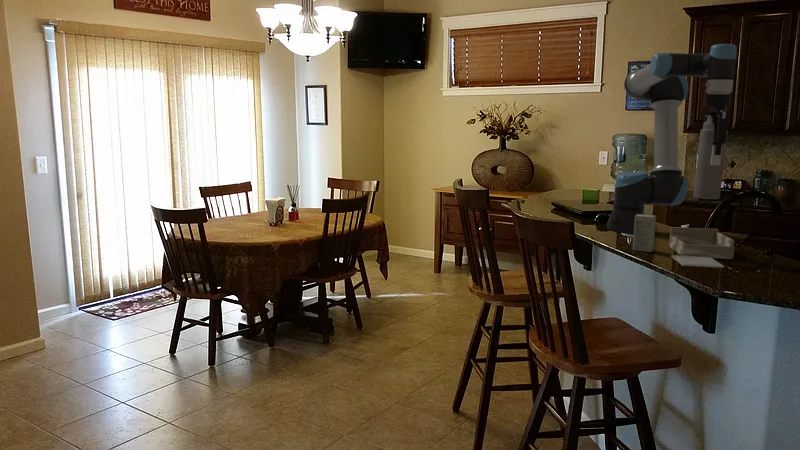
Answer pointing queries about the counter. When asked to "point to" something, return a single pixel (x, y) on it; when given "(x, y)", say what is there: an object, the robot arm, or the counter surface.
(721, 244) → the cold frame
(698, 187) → the thermos bottle
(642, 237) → the skincare box
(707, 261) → the ceramic tile
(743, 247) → the counter surface
